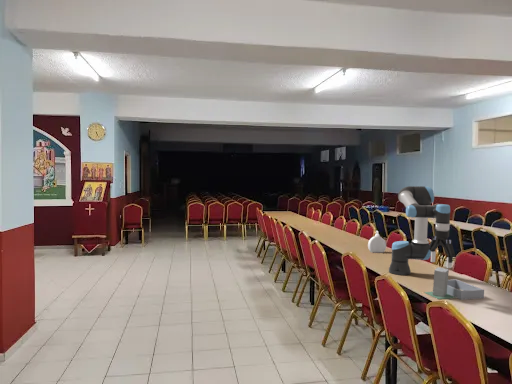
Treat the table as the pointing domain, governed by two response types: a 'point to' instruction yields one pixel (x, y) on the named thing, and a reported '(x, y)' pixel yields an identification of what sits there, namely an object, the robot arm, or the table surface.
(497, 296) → the table surface
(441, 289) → the skincare box
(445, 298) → the pad
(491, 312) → the table surface
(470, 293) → the parts bin
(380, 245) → the soap bottle
